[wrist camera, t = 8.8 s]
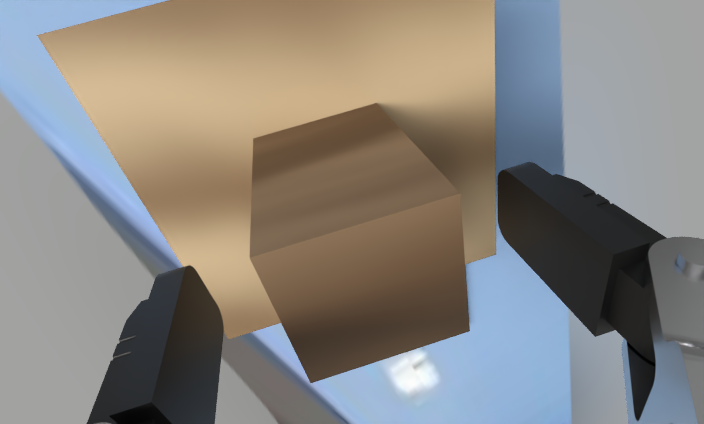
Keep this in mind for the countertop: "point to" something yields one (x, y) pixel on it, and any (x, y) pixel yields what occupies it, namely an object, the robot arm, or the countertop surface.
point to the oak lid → (307, 158)
